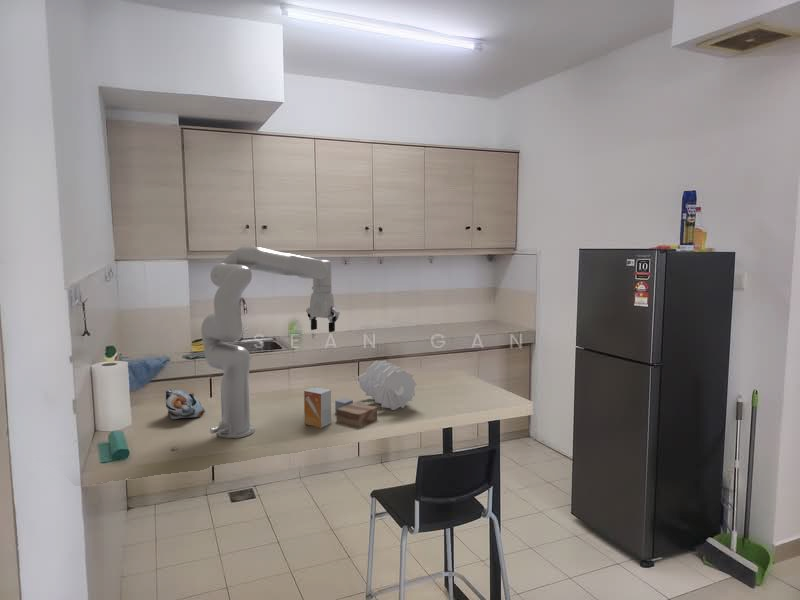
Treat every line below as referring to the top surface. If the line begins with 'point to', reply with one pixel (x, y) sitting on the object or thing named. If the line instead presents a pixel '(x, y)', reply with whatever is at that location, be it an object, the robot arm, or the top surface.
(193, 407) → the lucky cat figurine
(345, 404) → the slate-grey cube
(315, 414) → the small box
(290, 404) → the top surface
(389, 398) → the spiral staircase
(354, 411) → the walnut block
